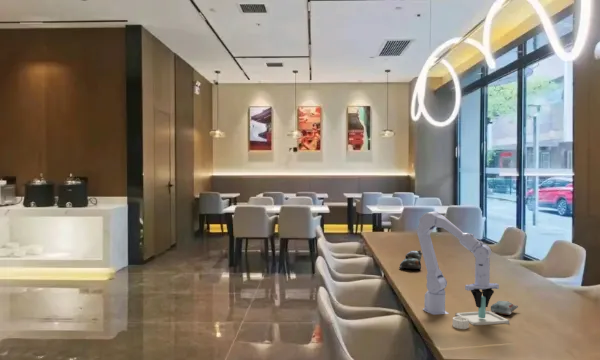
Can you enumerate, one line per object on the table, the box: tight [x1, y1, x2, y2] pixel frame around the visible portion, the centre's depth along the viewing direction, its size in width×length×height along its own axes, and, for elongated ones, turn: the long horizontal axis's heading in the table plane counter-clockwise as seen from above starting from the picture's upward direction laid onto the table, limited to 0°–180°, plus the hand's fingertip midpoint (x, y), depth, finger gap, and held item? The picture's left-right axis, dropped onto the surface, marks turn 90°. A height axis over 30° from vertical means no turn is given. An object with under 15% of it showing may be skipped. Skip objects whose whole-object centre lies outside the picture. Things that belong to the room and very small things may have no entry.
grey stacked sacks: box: [398, 249, 423, 271], centre depth 312 cm, size 15×12×14 cm
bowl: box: [452, 316, 470, 330], centre depth 196 cm, size 6×6×4 cm
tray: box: [455, 310, 510, 326], centre depth 206 cm, size 14×16×2 cm
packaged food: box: [490, 300, 519, 316], centre depth 217 cm, size 9×12×5 cm
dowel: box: [477, 295, 487, 318], centre depth 206 cm, size 3×3×8 cm
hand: (481, 306), depth 206 cm, fingers closed on dowel, 3 cm apart
